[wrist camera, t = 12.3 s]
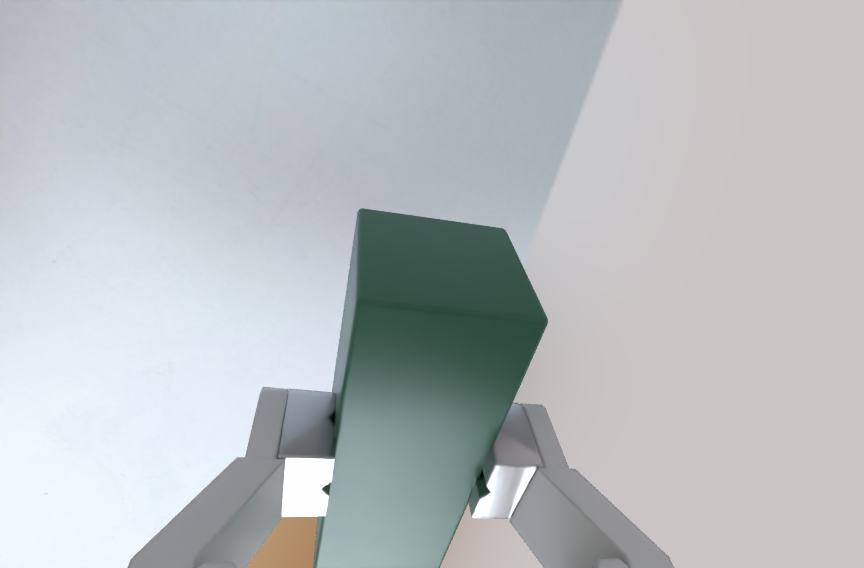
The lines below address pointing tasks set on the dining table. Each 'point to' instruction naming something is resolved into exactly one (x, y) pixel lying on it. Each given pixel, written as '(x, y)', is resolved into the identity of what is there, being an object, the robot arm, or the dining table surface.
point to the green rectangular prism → (421, 384)
